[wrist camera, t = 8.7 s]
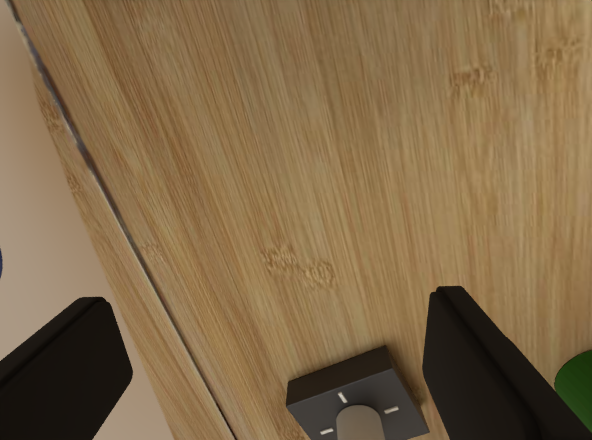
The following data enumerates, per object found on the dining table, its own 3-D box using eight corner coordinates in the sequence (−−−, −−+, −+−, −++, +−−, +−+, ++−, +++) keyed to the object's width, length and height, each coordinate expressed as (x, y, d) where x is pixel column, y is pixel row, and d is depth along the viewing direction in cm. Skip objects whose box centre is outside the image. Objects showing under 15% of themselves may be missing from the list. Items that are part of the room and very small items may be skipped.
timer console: (327, 436, 37) (328, 465, 34) (287, 382, 34) (285, 408, 31) (420, 406, 34) (430, 434, 31) (385, 345, 31) (393, 369, 28)
